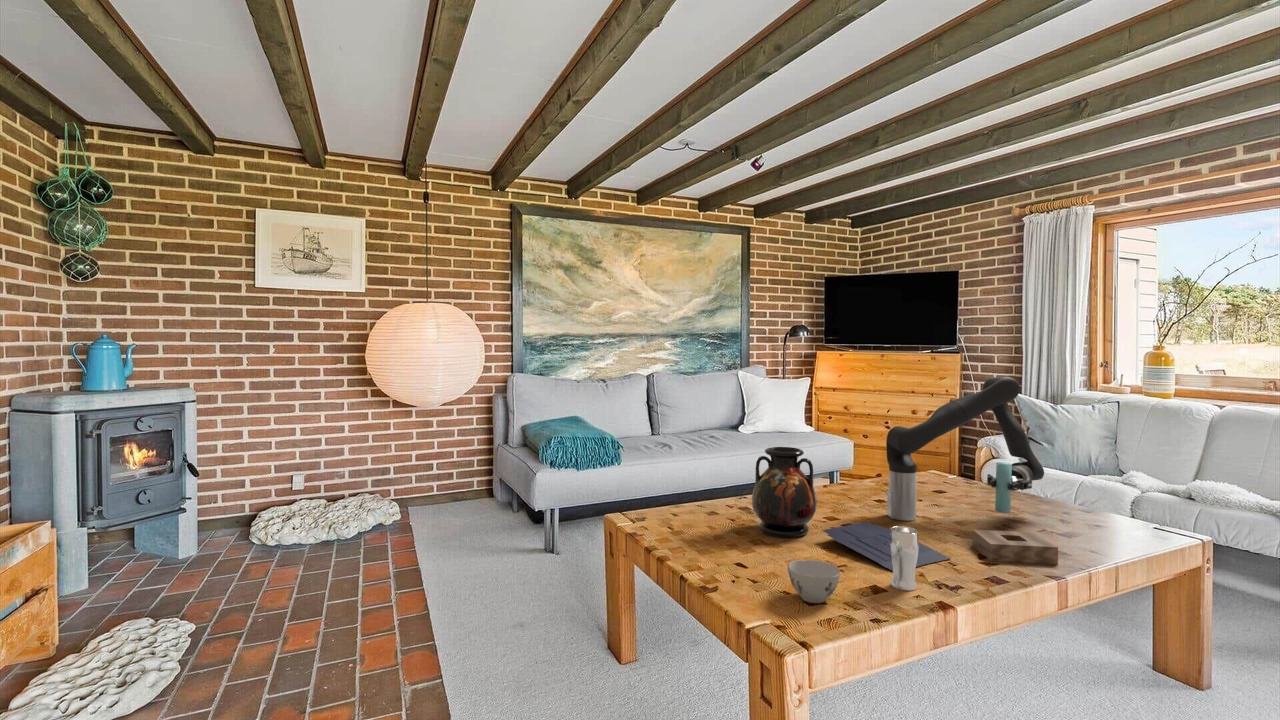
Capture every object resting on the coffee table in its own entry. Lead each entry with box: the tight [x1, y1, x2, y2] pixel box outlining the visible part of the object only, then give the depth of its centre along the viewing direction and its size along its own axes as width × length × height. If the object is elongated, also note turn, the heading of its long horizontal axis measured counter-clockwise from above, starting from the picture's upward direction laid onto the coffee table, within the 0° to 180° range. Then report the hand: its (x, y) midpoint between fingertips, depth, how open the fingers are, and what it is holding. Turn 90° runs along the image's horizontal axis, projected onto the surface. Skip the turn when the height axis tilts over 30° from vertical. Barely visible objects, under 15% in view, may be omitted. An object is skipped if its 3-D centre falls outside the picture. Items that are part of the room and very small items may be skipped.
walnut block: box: [972, 529, 1059, 565], centre depth 183 cm, size 18×14×5 cm
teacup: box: [787, 559, 841, 604], centre depth 153 cm, size 15×12×8 cm
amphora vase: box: [751, 446, 818, 539], centre depth 206 cm, size 22×22×28 cm
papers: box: [821, 521, 951, 572], centre depth 187 cm, size 24×30×4 cm
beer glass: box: [890, 525, 920, 592], centre depth 159 cm, size 7×7×15 cm
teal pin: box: [994, 461, 1013, 514], centre depth 202 cm, size 4×4×16 cm
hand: (1001, 485), depth 200 cm, fingers closed on teal pin, 4 cm apart
